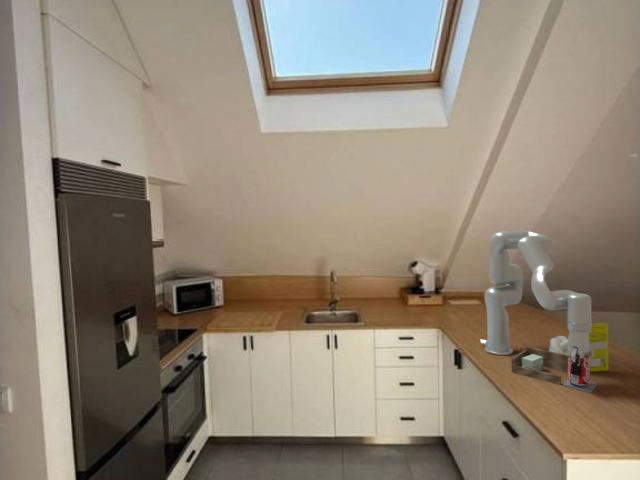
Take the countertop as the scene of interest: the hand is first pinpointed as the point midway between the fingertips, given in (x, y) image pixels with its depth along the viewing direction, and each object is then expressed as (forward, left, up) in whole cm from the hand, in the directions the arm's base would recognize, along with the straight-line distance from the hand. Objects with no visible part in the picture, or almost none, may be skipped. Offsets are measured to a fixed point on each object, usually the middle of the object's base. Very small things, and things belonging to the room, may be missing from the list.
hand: (579, 371), depth 145 cm
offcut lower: (-18, +3, -6) cm, 19 cm away
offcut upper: (-18, +4, -3) cm, 19 cm away
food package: (-1, +18, -6) cm, 19 cm away
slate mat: (0, 0, -5) cm, 5 cm away
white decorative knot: (-13, +29, -6) cm, 32 cm away
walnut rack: (-14, +4, -5) cm, 16 cm away
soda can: (0, -1, -5) cm, 5 cm away
